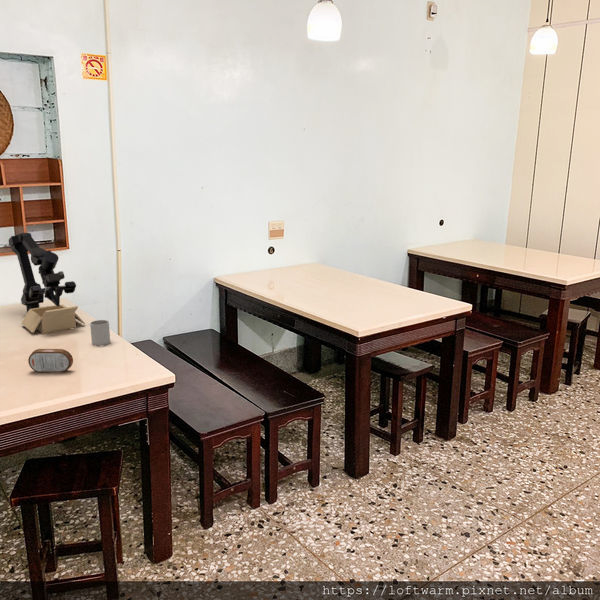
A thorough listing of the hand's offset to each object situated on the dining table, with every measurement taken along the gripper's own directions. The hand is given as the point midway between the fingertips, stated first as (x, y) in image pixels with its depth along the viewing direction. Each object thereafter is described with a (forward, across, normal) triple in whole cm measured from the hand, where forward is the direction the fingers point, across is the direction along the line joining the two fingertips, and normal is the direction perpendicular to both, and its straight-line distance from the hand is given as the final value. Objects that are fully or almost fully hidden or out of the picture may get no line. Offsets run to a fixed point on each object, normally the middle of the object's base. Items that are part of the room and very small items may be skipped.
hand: (58, 305), depth 256 cm
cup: (+26, +8, -9) cm, 29 cm away
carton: (0, 0, +17) cm, 17 cm away
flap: (+3, 0, 0) cm, 3 cm away
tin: (+41, -18, -25) cm, 51 cm away
